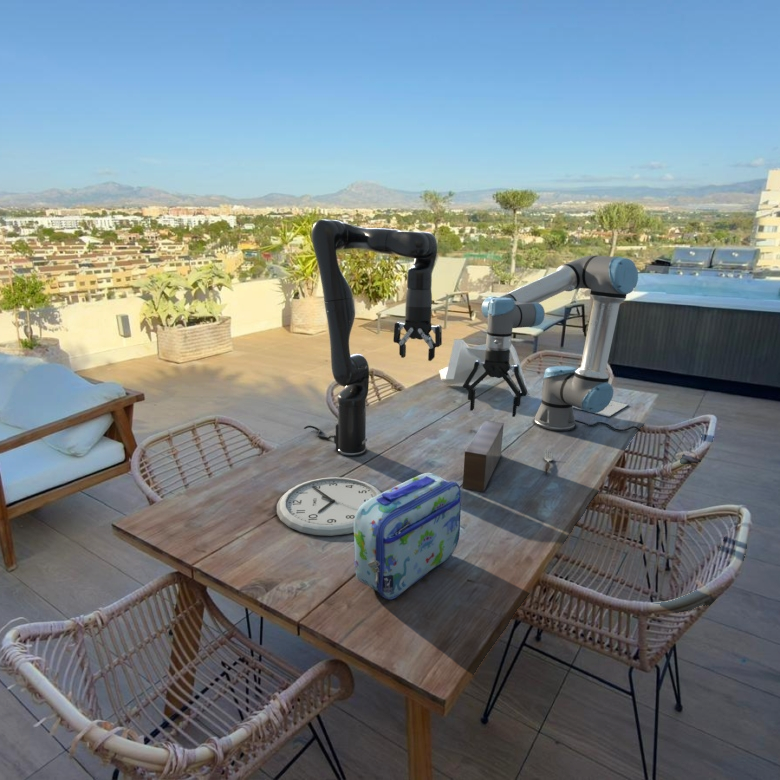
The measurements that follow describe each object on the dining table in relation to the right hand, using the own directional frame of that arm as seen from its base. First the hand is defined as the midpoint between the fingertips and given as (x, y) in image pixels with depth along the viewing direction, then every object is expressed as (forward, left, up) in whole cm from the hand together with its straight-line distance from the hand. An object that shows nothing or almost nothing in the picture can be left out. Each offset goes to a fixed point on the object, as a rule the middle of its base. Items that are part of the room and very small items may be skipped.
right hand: (492, 412), depth 169 cm
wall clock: (+44, +38, -16) cm, 61 cm away
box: (+2, +10, -16) cm, 19 cm away
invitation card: (-52, -61, -16) cm, 82 cm away
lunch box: (+21, +64, -16) cm, 69 cm away
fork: (-19, +3, -16) cm, 25 cm away
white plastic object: (0, -73, -16) cm, 75 cm away
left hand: (+24, +11, +19) cm, 33 cm away
